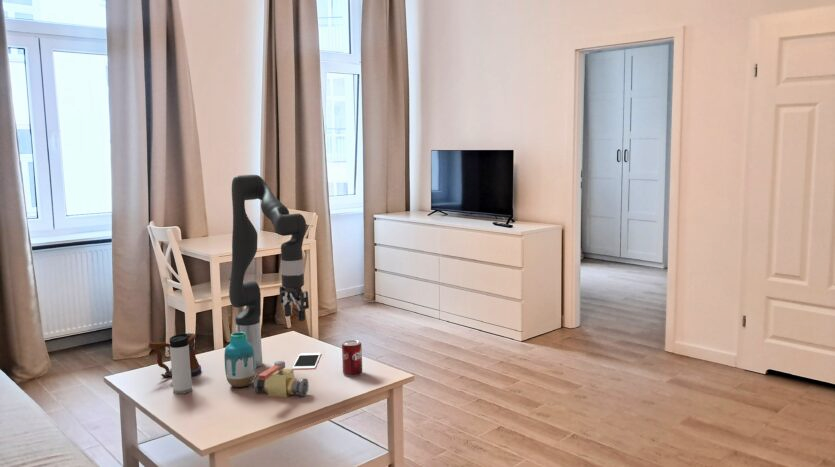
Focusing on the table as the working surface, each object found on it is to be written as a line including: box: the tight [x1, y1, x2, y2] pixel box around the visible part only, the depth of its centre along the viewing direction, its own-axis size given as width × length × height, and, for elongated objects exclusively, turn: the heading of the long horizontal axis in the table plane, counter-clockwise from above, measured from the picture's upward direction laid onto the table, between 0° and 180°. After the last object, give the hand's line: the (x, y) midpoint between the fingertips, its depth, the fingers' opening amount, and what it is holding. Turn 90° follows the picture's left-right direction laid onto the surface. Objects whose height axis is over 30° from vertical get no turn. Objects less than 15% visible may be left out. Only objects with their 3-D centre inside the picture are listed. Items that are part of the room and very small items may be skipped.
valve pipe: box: [252, 368, 309, 399], centre depth 228 cm, size 18×6×9 cm, turn 74°
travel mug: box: [169, 332, 193, 395], centre depth 233 cm, size 6×7×20 cm
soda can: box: [341, 339, 363, 378], centre depth 246 cm, size 7×7×12 cm
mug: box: [148, 332, 202, 378], centre depth 249 cm, size 18×12×15 cm, turn 121°
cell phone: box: [291, 352, 322, 371], centre depth 262 cm, size 9×18×1 cm, turn 1°
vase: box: [223, 332, 256, 388], centre depth 236 cm, size 11×11×19 cm
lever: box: [257, 360, 286, 380], centre depth 223 cm, size 14×4×2 cm, turn 164°
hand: (294, 318), depth 228 cm, fingers open, 8 cm apart
